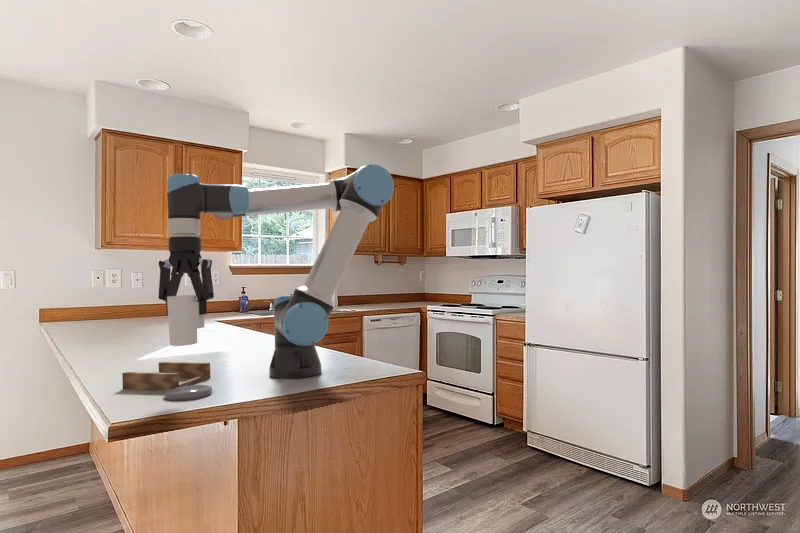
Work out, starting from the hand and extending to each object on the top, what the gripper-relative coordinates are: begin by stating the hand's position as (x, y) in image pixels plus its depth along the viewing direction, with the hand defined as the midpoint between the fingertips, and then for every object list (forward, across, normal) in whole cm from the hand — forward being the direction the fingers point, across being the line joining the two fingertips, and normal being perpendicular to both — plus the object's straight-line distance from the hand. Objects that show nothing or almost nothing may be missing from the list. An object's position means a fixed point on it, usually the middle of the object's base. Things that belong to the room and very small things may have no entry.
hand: (186, 327), depth 128 cm
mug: (+4, 0, 0) cm, 4 cm away
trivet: (+17, 0, 0) cm, 17 cm away
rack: (+17, +14, -11) cm, 25 cm away
